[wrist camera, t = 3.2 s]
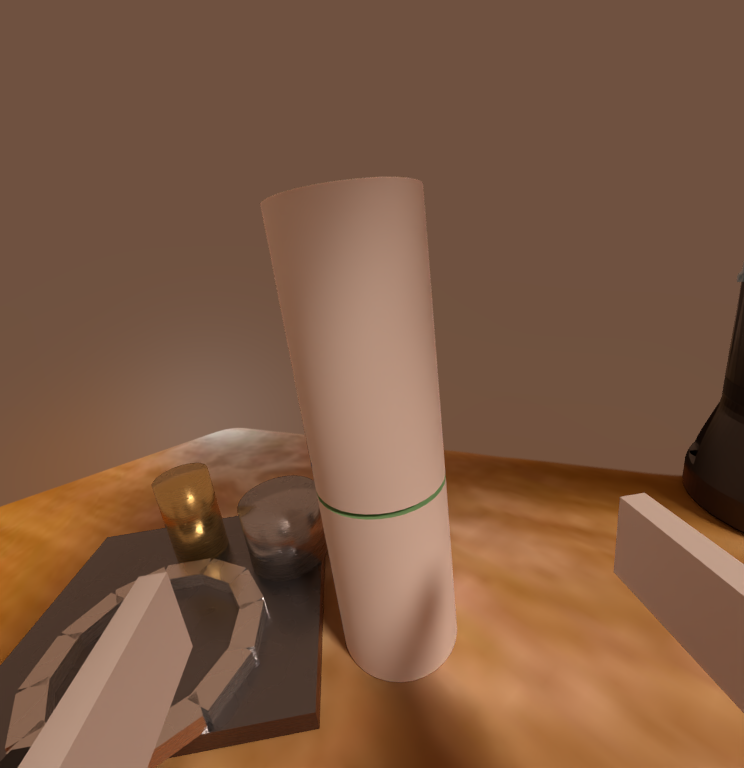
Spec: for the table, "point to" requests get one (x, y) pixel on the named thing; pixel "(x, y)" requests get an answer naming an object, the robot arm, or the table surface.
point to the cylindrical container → (371, 410)
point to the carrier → (197, 617)
